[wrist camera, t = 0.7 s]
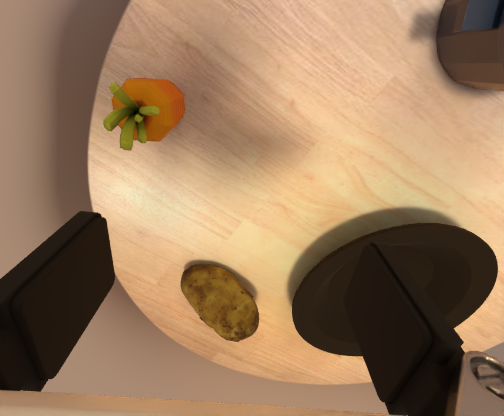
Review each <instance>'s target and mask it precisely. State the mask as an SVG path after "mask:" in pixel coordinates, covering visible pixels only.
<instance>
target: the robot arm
mask: <svg viewBox="0 0 504 416" xmlns="http://www.w3.org/2000/svg"><path fill="white" fill-rule="evenodd" d="M114 280H115V273H114V266H113V260H112V253H111V247H110V240H109V234H108V228H107V221H106V219H105V218H103V217H102V216H101V214H100V213H95V212H85V211H80V212H79V213H77V214H76V215H75V216H74V217H73V218H71V219H70V220H69V221H68V222H67V223H65V225H63V226H62V227H61V228H60V229H59V230H57V231H56V232H55V233H54V234H53V235H52V236H50V237H49V238H48V239H47V240H46V241H45V242H43V243H42V244H41V245H40V246H39V247H38V248H36V249H35V250H34V251H33V252H32V253H30V254H29V255H28V256H27V257H26V258H24V259H23V260H22V261H21V262H20V263H19V264H17V265H16V266H15V267H14V268H13V269H12V270H10V271H9V272H8V273H7V274H6V275H5V276H3V277H2V278H1V279H0V416H400V415H403V416H407V415H408V416H504V363H503V362H501V361H500V360H498V359H497V358H495V357H493V356H491V355H488V354H486V353H483V352H479V351H468V352H467V353H465V352H464V351H463V349H462V348H461V345H462V344H463V343H464V342H463V341H462V339H461V338H460V337H459V335H458V334H457V333H456V331H455V330H454V329H453V327H452V326H451V325H450V323H449V322H448V321H447V320H446V318H445V317H444V316H443V314H442V313H441V312H440V310H439V309H438V308H437V306H436V305H435V304H434V303H433V301H432V300H431V299H430V297H429V296H428V295H427V293H426V292H425V291H424V289H423V288H422V287H421V285H420V284H419V283H418V282H417V280H416V279H415V278H414V276H413V275H412V274H411V272H410V271H409V270H408V268H407V267H406V266H405V265H404V263H403V262H402V261H401V259H400V258H399V257H398V255H397V254H396V253H395V251H394V250H393V249H392V247H391V246H390V245H389V244H387V243H380V242H370V243H369V244H368V245H365V246H364V248H363V250H362V252H361V255H360V257H359V260H358V262H357V265H356V267H355V270H354V272H353V275H352V277H351V280H350V282H349V285H348V287H347V290H346V293H345V295H344V298H343V304H344V308H345V311H346V313H347V316H348V319H349V321H350V324H351V326H352V329H353V332H354V334H355V337H356V340H357V342H358V345H359V347H360V350H361V353H362V355H363V358H364V361H365V363H366V366H367V368H368V371H369V374H370V376H371V379H372V382H373V384H374V387H375V389H376V392H377V395H378V397H379V399H380V400H381V401H382V402H385V404H386V407H387V409H388V412H389V414H377V413H363V412H348V411H335V410H321V409H307V408H293V407H278V406H264V405H248V404H233V403H218V402H201V401H188V400H172V399H156V398H138V397H122V396H106V395H90V394H89V395H88V394H72V393H52V392H41V390H42V389H43V387H44V385H45V384H46V382H47V381H48V379H53V378H54V377H55V376H56V375H57V373H58V372H59V370H60V369H61V367H62V365H63V364H64V362H65V361H66V359H67V358H68V356H69V354H70V353H71V351H72V349H73V348H74V346H75V345H76V343H77V341H78V340H79V338H80V337H81V335H82V334H83V332H84V331H85V329H86V327H87V326H88V324H89V322H90V321H91V319H92V318H93V316H94V315H95V313H96V311H97V310H98V308H99V306H100V305H101V303H102V302H103V300H104V298H105V297H106V296H107V294H108V292H109V291H110V289H111V288H112V286H113V284H114ZM20 390H23V391H20ZM27 391H28V392H27ZM29 391H38V392H29Z"/></svg>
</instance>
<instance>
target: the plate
mask: <svg viewBox="0 0 504 416" xmlns="http://www.w3.org/2000/svg"><path fill="white" fill-rule="evenodd" d="M370 242H380V243H387V244H389V245H390V246H391V247H392V249H393V250H394V251H395V253H396V254H397V255H398V257H399V258H400V259H401V261H402V262H403V263H404V265H405V266H406V267H407V268H408V270H409V271H410V272H411V274H412V275H413V276H414V278H415V279H416V280H417V282H418V283H419V284H420V285H421V287H422V288H423V289H424V291H425V292H426V293H427V295H428V296H429V297H430V299H431V300H432V301H433V303H434V304H435V305H436V306H437V308H438V309H439V310H440V312H441V313H442V314H443V316H444V317H445V318H446V320H447V321H448V322H449V323H450V325H451V326H452V327H453V328H455V327H456V326H458V325H459V324H461V323H462V322H463V321H465V320H466V319H467V318H469V317H470V316H471V315H472V314H473V313H474V312H475V311H476V310H477V309H478V308H479V307H480V306H481V305H482V304H483V303H484V301H485V300H486V299H487V297H488V296H489V294H490V293H491V291H492V289H493V287H494V284H495V282H496V278H497V273H498V264H497V259H496V256H495V254H494V252H493V250H492V249H491V248H490V246H489V245H488V244H487V243H486V242H485V241H483V240H482V239H481V238H480V237H478V236H477V235H475V234H474V233H472V232H470V231H468V230H465V229H463V228H459V227H456V226H452V225H447V224H438V223H417V224H408V225H401V226H396V227H391V228H387V229H383V230H380V231H377V232H374V233H371V234H368V235H365V236H363V237H360V238H358V239H356V240H354V241H352V242H350V243H348V244H346V245H344V246H342V247H341V248H339V249H337V250H336V251H334V252H333V253H331V254H330V255H328V256H327V257H326V258H324V259H323V260H322V261H321V262H319V263H318V264H317V265H316V266H315V267H314V268H313V269H312V270H311V271H310V272H309V273H308V274H307V276H306V277H305V278H304V279H303V281H302V282H301V284H300V285H299V287H298V289H297V291H296V293H295V296H294V299H293V304H292V316H293V322H294V325H295V328H296V330H297V331H298V333H299V335H300V336H301V337H302V338H303V339H304V340H305V341H306V342H308V343H309V344H311V345H312V346H314V347H316V348H318V349H320V350H323V351H326V352H329V353H333V354H338V355H345V356H363V355H362V353H361V350H360V347H359V345H358V342H357V340H356V337H355V334H354V332H353V329H352V326H351V324H350V321H349V319H348V316H347V313H346V311H345V308H344V304H343V298H344V295H345V293H346V290H347V287H348V285H349V282H350V280H351V277H352V275H353V272H354V270H355V267H356V265H357V262H358V260H359V257H360V255H361V252H362V250H363V248H364V246H365V245H368V244H369V243H370Z"/></svg>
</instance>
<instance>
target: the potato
mask: <svg viewBox="0 0 504 416" xmlns="http://www.w3.org/2000/svg"><path fill="white" fill-rule="evenodd" d="M181 289H182V292H183V294H184V295H185V297H186V298H187V300H188V301H189V303H190V304H191V305H192V307H193V308H194V309H195V311H196V312H197V313H198V315H199V316H200V319H201V320H203V321H204V322H205V323H206V325H208V326H209V327H211V328H213V329H214V330H215V331H216V332H217V333H218V334H219V335H220V336H221V337H223V338H224V339H226V340H230V341H235V342H239V341H240V340H243V339H245V338H248V337H250V336H251V335H253V334H254V333H255V331H256V330H257V328H258V324H259V313H258V308H257V305H256V303H255V301H254V299H253V296H252V295H251V294H250V293H249V292H248V291H247V290H246V289H245V288H244V287H243V286H241V285H240V283H239V281H238V280H237V278H236V277H235V276H234V275H233V274H231V273H230V272H228V271H226V270H224V269H222V268H220V267H217V266H213V265H193V266H191V267H189V268H188V269H186V270H185V271H184V272H183V274H182V278H181Z"/></svg>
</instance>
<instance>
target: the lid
mask: <svg viewBox="0 0 504 416" xmlns="http://www.w3.org/2000/svg"><path fill="white" fill-rule="evenodd" d="M498 50H499V58H500V63H501V66H502V70H503V72H504V11H503V14H502V18H501V22H500V29H499V39H498Z"/></svg>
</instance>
